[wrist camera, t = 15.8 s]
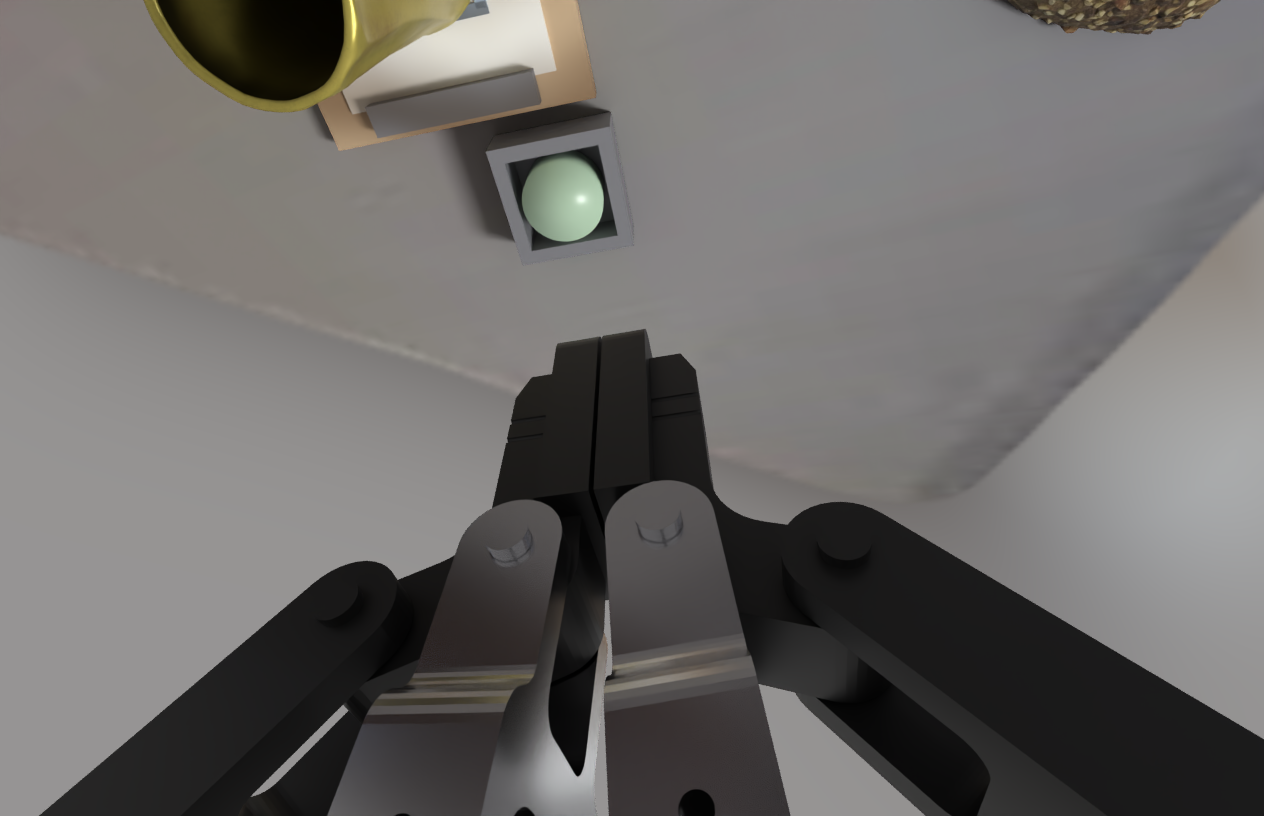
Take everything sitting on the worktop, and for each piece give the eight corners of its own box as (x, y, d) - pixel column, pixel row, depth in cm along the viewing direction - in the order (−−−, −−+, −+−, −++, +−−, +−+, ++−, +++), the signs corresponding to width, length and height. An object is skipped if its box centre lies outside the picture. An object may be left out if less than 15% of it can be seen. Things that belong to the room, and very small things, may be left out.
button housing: (494, 135, 33) (485, 151, 31) (610, 111, 32) (609, 126, 30) (528, 244, 36) (522, 265, 34) (633, 225, 36) (633, 245, 34)
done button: (517, 157, 33) (511, 171, 31) (594, 141, 32) (593, 155, 31) (539, 231, 35) (534, 247, 33) (611, 218, 35) (610, 233, 33)
